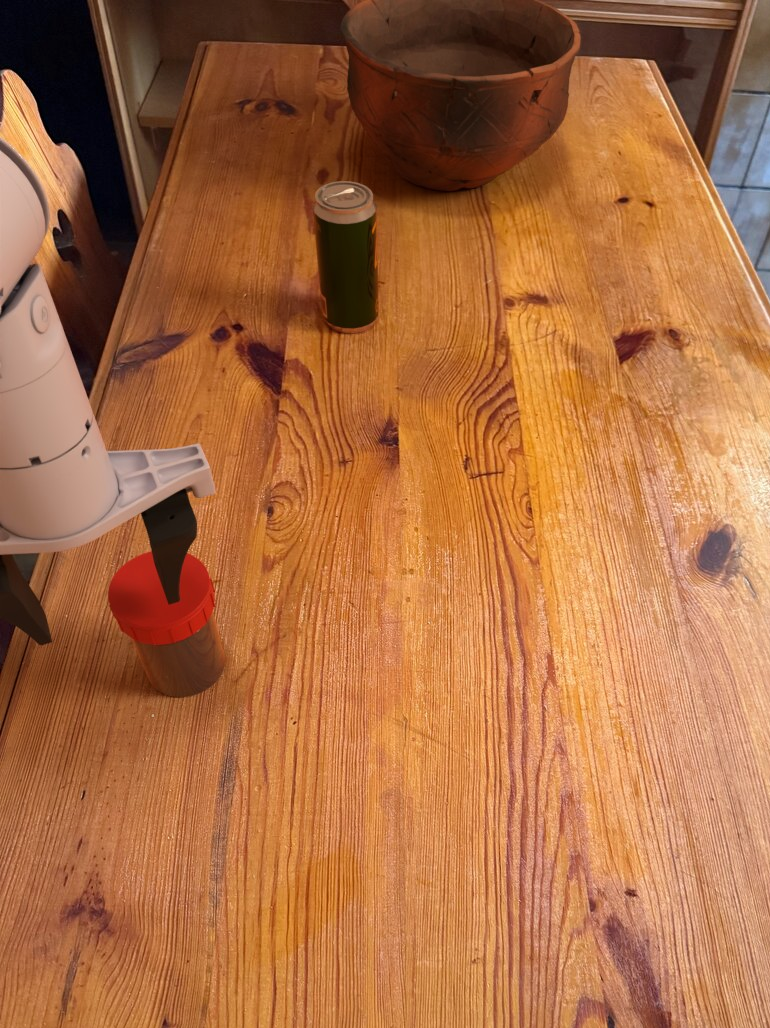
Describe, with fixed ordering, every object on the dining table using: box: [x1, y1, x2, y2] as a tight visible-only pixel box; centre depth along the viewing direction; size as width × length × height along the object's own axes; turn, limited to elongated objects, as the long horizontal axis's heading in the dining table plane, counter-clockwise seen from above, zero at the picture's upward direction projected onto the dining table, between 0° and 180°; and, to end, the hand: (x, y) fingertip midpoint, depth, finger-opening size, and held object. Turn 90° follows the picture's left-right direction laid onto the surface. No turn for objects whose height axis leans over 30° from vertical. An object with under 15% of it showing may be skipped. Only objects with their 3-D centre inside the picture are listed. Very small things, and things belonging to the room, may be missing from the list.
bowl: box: [339, 0, 582, 192], centre depth 97 cm, size 25×25×15 cm
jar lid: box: [107, 550, 216, 645], centre depth 54 cm, size 6×6×2 cm
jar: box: [130, 611, 226, 698], centre depth 57 cm, size 5×5×8 cm
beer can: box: [312, 180, 380, 334], centre depth 80 cm, size 5×5×12 cm
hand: (107, 610), depth 50 cm, fingers open, 6 cm apart
